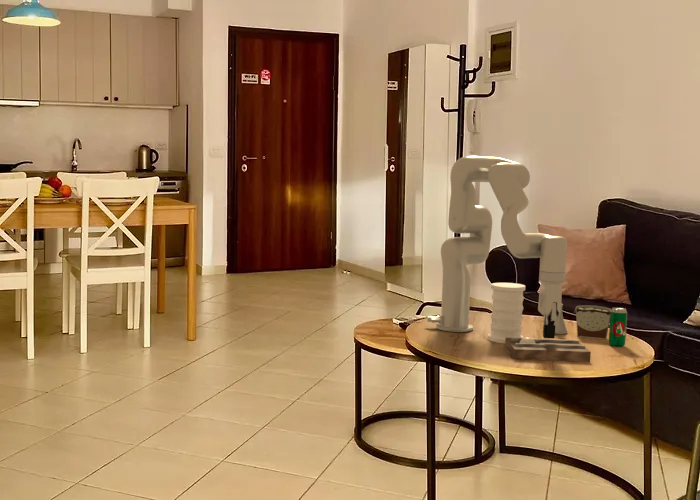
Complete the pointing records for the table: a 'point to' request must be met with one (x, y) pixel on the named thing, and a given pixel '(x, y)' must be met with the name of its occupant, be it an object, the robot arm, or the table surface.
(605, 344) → the table surface
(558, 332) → the flask
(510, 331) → the decorative container
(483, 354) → the table surface
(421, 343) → the table surface
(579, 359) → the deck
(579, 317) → the food container
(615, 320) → the soda can
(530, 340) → the ball
